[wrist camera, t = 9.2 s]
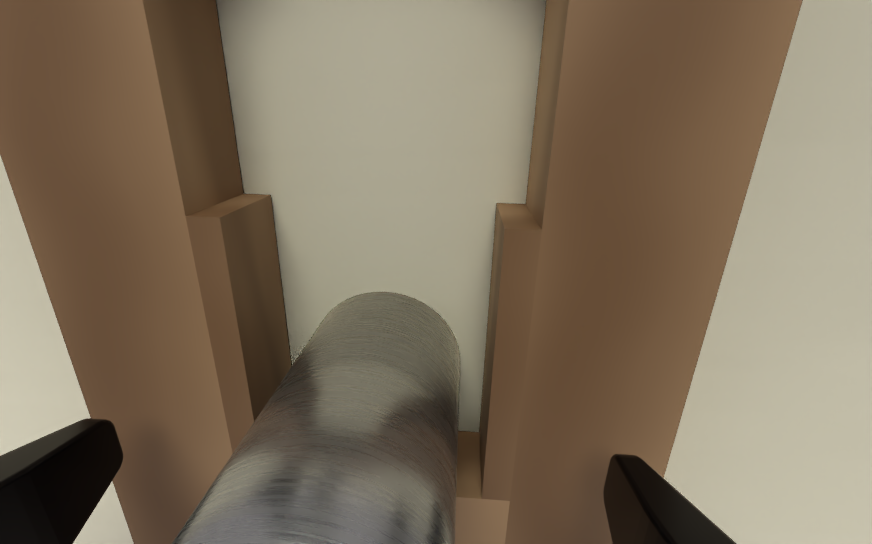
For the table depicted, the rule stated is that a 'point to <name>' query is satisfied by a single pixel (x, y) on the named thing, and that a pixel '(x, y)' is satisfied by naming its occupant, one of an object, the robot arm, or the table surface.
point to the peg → (349, 438)
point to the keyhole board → (511, 263)
